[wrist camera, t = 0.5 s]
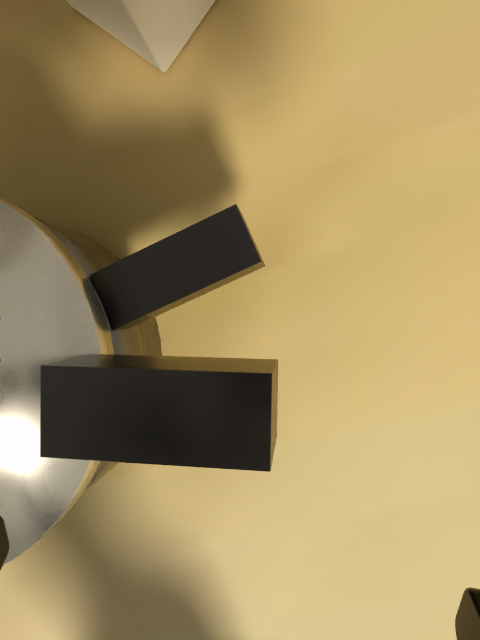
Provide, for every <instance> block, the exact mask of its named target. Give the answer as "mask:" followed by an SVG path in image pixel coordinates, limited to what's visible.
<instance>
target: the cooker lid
mask: <svg viewBox="0 0 480 640" xmlns="http://www.w3.org/2000/svg"><path fill="white" fill-rule="evenodd" d="M277 392H278V360H274V359H241V358H209V357H177V356H144V355H114V350H113V344H112V339H111V333H110V330H109V326H108V323H107V320H106V317H105V314H104V310H103V307H102V305H101V303H100V301H99V298H98V296H97V294H96V292H95V290H94V288H93V285H92V283H91V282H90V280H89V278H88V277H87V275H86V274H85V272H84V270H83V269H82V267H81V266H80V264H79V262H78V261H77V260H76V258H75V257H74V256H73V255H72V254H71V252H70V251H69V250H68V249H67V247H66V246H65V245H64V244H63V243H62V241H61V240H59V239H58V238H57V237H56V236H55V235H54V234H53V233H52V232H51V231H50V230H49V229H48V228H47V227H46V226H45V225H43V224H42V223H41V222H39V221H38V220H36V219H35V218H34V217H32V216H31V215H29V214H28V213H27V212H25V211H24V210H22V209H20V208H18V207H16V206H14V205H12V204H10V203H9V202H7V201H5V200H3V199H0V516H1V517H2V518H3V519H4V523H5V527H6V531H7V535H8V539H9V552H8V555H7V558H6V560H5V562H4V564H6V563H8V562H9V561H11V560H12V559H14V558H16V557H17V556H19V555H21V554H22V553H23V552H24V551H25V550H27V549H28V548H29V547H30V546H31V545H33V544H34V543H35V542H36V541H37V540H39V539H40V538H41V537H42V536H43V535H44V534H45V533H47V532H48V531H49V530H50V529H51V528H52V527H53V526H54V525H56V524H57V523H58V522H59V521H60V520H61V519H62V518H63V517H64V516H65V515H66V513H67V512H68V511H69V510H70V509H71V508H72V507H73V506H74V505H75V503H76V502H77V501H78V499H79V498H80V496H81V495H82V493H83V492H84V490H85V489H86V487H87V486H88V485H89V483H90V481H91V479H92V477H93V475H94V473H95V471H96V469H97V467H98V465H99V463H100V461H110V462H126V463H142V464H158V465H174V466H190V467H206V468H222V469H238V470H254V471H270V470H271V465H272V460H273V454H274V449H275V443H276V438H277ZM4 564H3V565H4Z"/></svg>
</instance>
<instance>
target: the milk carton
mask: <svg viewBox="0 0 480 640" xmlns="http://www.w3.org/2000/svg"><path fill="white" fill-rule="evenodd" d="M66 2H67V3H68V4H69V5H70V6H71V7H73V8H74V9H75V10H77V11H78V12H80V13H81V14H82V15H84V16H85V17H86V18H88V19H89V20H91V21H92V22H93V23H95V24H96V25H98V26H99V27H100V28H102V29H103V30H105V31H106V32H107V33H109V34H110V35H111V36H113V37H114V38H116V39H117V40H118V41H120V42H121V43H123V44H124V45H125V46H127V47H128V48H129V49H131V50H132V51H134V52H135V53H136V54H138V55H139V56H141V57H142V58H143V59H145V60H146V61H147V62H149V63H150V64H152V65H153V66H154V67H156V68H157V69H159V70H160V71H161V72H166V71H167V70H168V68H169V67H170V66H171V64H172V63H173V61H174V60H175V58H176V57H177V56H178V54H179V53H180V51H181V50H182V48H183V47H184V45H185V44H186V42H187V41H188V40H189V38H190V37H191V35H192V34H193V32H194V31H195V29H196V28H197V27H198V25H199V24H200V22H201V21H202V19H203V18H204V16H205V15H206V13H207V12H208V11H209V9H210V8H211V6H212V5H213V3H214V2H215V0H66Z"/></svg>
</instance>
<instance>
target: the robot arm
mask: <svg viewBox="0 0 480 640" xmlns="http://www.w3.org/2000/svg"><path fill="white" fill-rule="evenodd" d="M8 552H9V539H8V535H7V531H6V527H5V523H4V519H3V518H2V517H1V516H0V570H1V568H2V566H3V564H4V562H5V560H6V558H7V555H8ZM455 629H456V636H457V640H480V589H476V588H467V589H466V590H465V591H464V593H463V596H462V599H461V602H460V606H459V609H458V612H457V615H456V620H455Z"/></svg>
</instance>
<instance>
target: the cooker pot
mask: <svg viewBox="0 0 480 640" xmlns="http://www.w3.org/2000/svg"><path fill="white" fill-rule="evenodd" d="M34 218H35V217H34ZM35 219H36V220H38V221H39V222H41V223H42V224H43V225H45V226H46V227H47V228H48V229H49V230H50V231H51V232H52V233H53V234H54V235H55V236H56V237H57V238H58V239H59V240H61V241H62V243H63V244H64V245H65V246H66V247H67V249H68V250H69V251H70V252H71V254H72V255H73V256H74V257H75V258H76V260H77V261H78V262H79V264H80V266H81V267H82V269H83V270H84V272H85V274H86V275H87V277H88V278H89V280H90V282H91V283H92V285H93V288H94V290H95V292H96V294H97V296H98V298H99V301H100V303H101V305H102V307H103V310H104V314H105V317H106V320H107V323H108V326H109V330H110V333H111V339H112V344H113V350H114V355H144V356H162V353H161V342H160V336H159V332H158V327H157V323H156V319H155V316H158V315H160V314H162V313H164V312H166V311H169V310H171V309H173V308H175V307H177V306H179V305H182V304H184V303H186V302H188V301H190V300H192V299H195V298H197V297H199V296H201V295H203V294H206V293H208V292H210V291H212V290H214V289H216V288H219V287H221V286H223V285H225V284H227V283H229V282H232V281H234V280H236V279H238V278H240V277H243V276H245V275H247V274H249V273H251V272H253V271H256V270H258V269H260V268H262V267H264V266H265V264H264V262H263V260H262V258H261V255H260V253H259V251H258V249H257V246H256V244H255V242H254V240H253V237H252V235H251V233H250V231H249V228H248V226H247V224H246V222H245V220H244V217H243V215H242V213H241V211H240V210H239V208H238V207H237V205H236V204H235V205H233V206H231V207H229V208H227V209H225V210H223V211H221V212H219V213H217V214H215V215H212V216H210V217H208V218H206V219H204V220H202V221H200V222H198V223H196V224H194V225H192V226H190V227H188V228H185V229H183V230H181V231H179V232H177V233H175V234H173V235H171V236H169V237H167V238H165V239H163V240H161V241H159V242H156V243H154V244H152V245H150V246H148V247H146V248H144V249H142V250H140V251H138V252H136V253H134V254H132V255H130V256H127V257H125V258H123V259H121V260H119V259H118V258H117V257H116V256H114V255H113V254H112V253H111V252H110V251H109V250H107V249H106V248H105V247H103V246H102V245H100V244H98V243H97V242H95V241H94V240H92V239H90V238H88V237H86V236H84V235H82V234H80V233H77V232H75V231H72V230H69V229H67V228H64V227H61V226H58V225H55V224H52V223H49V222H46V221H43V220H41V219H38V218H35ZM117 463H118V462H110V461H100V463H99V465H98V467H97V469H96V471H95V473H94V475H93V477H92V479H91V481H90V483H89V485H88V486H87V487H86V489H88V488H89V487H90V486H91V485H92V484H94V483H95V482H96V481H97V480H98V479H99V478H101V477H102V476H103V475H104V474H105V473H107V472H108V471H109V470H110V469H111V468H112V467H114V466H115V465H116V464H117ZM86 489H85V490H86ZM85 490H84V491H85Z"/></svg>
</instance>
